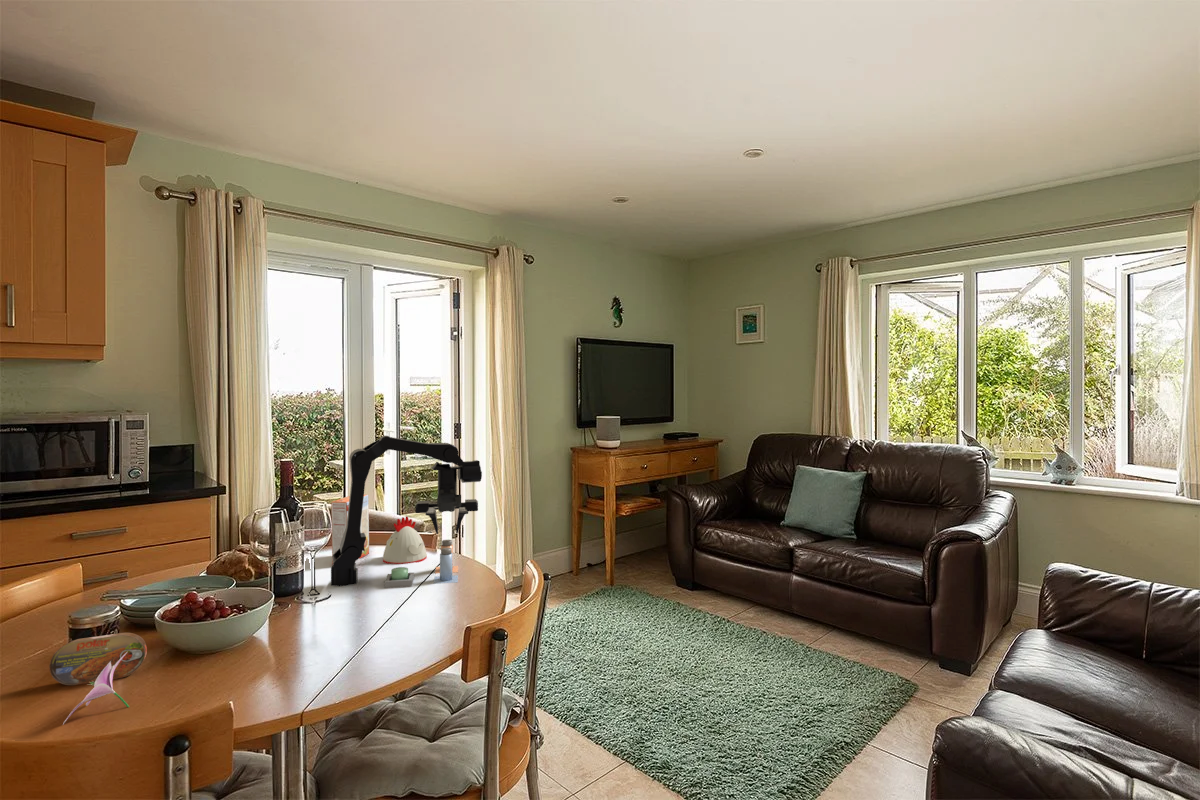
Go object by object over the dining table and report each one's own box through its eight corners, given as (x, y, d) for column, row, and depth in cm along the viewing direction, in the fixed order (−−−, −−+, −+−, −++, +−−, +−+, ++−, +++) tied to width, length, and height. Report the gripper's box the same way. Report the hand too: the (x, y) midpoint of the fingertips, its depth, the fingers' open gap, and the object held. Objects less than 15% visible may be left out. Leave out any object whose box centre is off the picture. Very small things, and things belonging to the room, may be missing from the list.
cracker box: (353, 553, 213) (353, 493, 212) (369, 554, 212) (369, 494, 211) (330, 565, 199) (330, 500, 198) (347, 565, 198) (347, 501, 197)
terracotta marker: (440, 571, 189) (440, 542, 188) (441, 568, 192) (441, 539, 192) (452, 570, 189) (452, 541, 189) (452, 567, 193) (452, 539, 193)
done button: (390, 582, 174) (390, 572, 174) (392, 577, 179) (392, 567, 179) (407, 581, 175) (407, 571, 175) (408, 576, 180) (408, 566, 180)
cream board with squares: (383, 592, 173) (383, 581, 173) (391, 572, 191) (391, 562, 191) (463, 587, 177) (463, 577, 177) (463, 568, 196) (463, 559, 196)
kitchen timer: (374, 563, 202) (374, 517, 201) (408, 553, 213) (408, 511, 213) (400, 570, 194) (401, 523, 193) (435, 560, 205) (435, 516, 205)
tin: (48, 689, 117) (48, 645, 116) (55, 681, 119) (55, 639, 119) (144, 675, 123) (144, 633, 122) (148, 668, 125) (148, 627, 125)
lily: (126, 693, 117) (94, 655, 115) (170, 677, 114) (139, 637, 112) (68, 747, 106) (31, 706, 104) (115, 730, 103) (78, 687, 101)
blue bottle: (439, 581, 179) (439, 550, 179) (440, 577, 182) (440, 547, 182) (452, 580, 180) (452, 550, 179) (452, 577, 183) (452, 547, 183)
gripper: (413, 488, 180) (413, 541, 181) (478, 487, 184) (478, 538, 185) (416, 482, 191) (416, 532, 191) (477, 481, 195) (477, 530, 195)
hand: (447, 533), depth 190 cm, fingers open, 6 cm apart
